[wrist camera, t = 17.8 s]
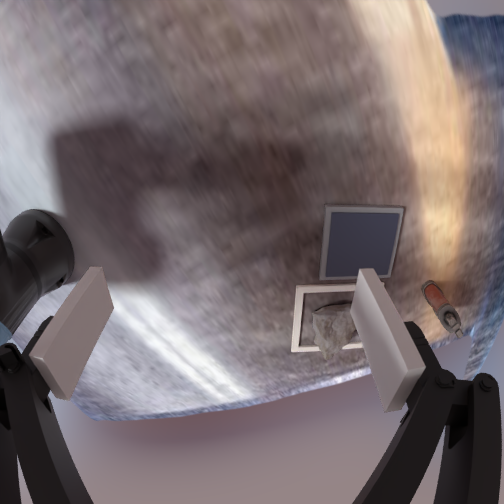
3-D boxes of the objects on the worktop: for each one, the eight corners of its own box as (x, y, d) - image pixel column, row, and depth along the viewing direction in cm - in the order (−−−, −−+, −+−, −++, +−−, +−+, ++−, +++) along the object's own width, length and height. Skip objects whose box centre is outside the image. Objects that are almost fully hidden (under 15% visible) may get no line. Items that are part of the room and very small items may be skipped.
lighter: (418, 288, 50) (441, 324, 41) (432, 276, 49) (457, 311, 40) (433, 310, 52) (455, 345, 44) (446, 300, 51) (470, 333, 42)
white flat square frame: (291, 350, 57) (291, 352, 56) (296, 285, 49) (296, 286, 49) (366, 345, 56) (367, 347, 56) (383, 281, 49) (384, 283, 49)
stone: (346, 339, 56) (353, 362, 50) (305, 340, 56) (308, 363, 50) (358, 298, 51) (367, 320, 46) (312, 298, 51) (318, 321, 46)
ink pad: (318, 276, 49) (320, 281, 47) (324, 204, 43) (326, 207, 42) (387, 274, 48) (390, 278, 47) (401, 205, 43) (404, 209, 41)
